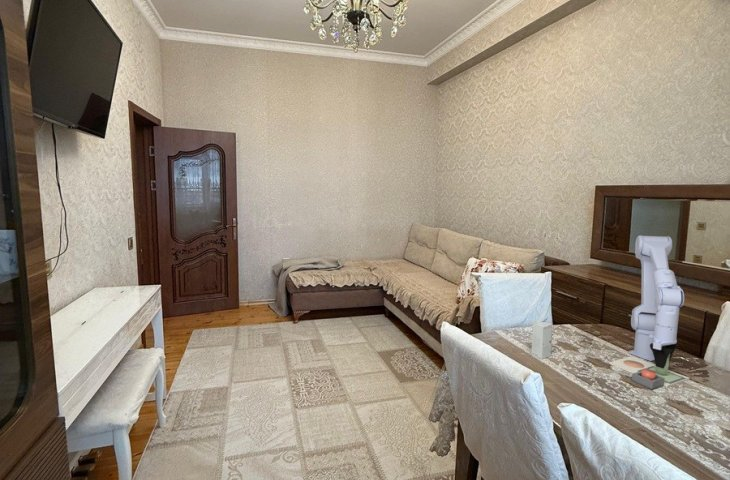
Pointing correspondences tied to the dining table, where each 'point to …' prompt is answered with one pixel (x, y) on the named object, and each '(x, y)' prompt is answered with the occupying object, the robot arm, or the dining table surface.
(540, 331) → the skincare box
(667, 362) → the green cup
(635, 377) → the button housing
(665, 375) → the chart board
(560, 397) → the dining table surface
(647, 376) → the button
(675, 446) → the dining table surface
